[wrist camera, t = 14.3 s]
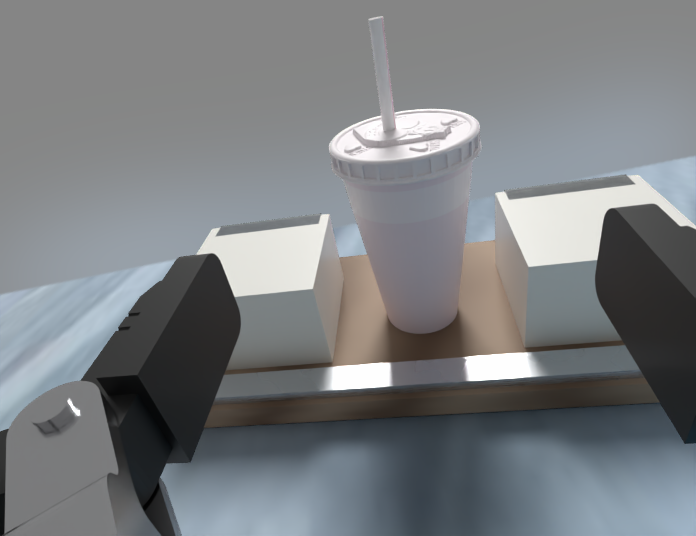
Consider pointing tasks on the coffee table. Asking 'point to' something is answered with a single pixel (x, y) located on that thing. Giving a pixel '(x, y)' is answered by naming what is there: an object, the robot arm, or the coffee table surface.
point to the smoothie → (410, 199)
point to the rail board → (437, 347)
